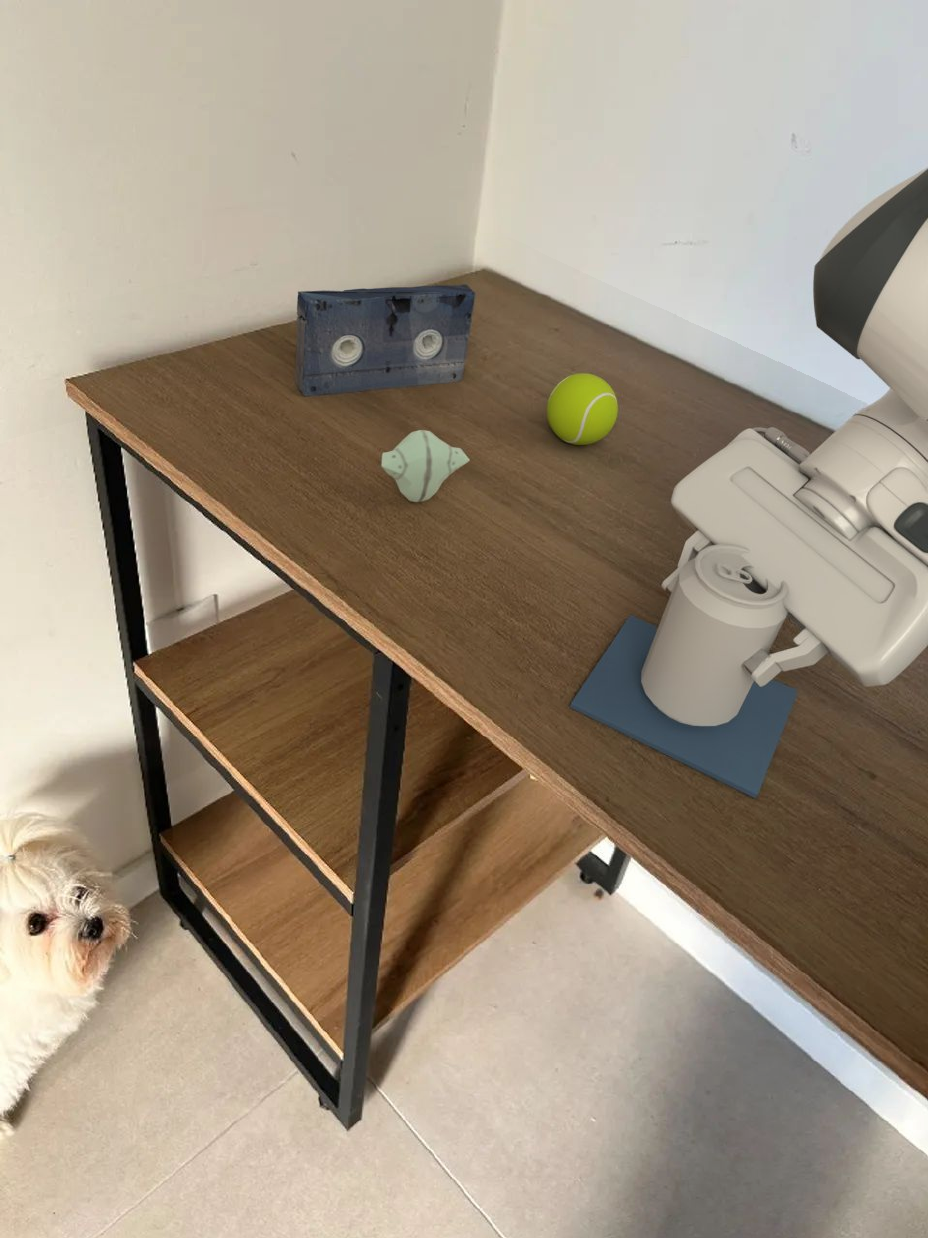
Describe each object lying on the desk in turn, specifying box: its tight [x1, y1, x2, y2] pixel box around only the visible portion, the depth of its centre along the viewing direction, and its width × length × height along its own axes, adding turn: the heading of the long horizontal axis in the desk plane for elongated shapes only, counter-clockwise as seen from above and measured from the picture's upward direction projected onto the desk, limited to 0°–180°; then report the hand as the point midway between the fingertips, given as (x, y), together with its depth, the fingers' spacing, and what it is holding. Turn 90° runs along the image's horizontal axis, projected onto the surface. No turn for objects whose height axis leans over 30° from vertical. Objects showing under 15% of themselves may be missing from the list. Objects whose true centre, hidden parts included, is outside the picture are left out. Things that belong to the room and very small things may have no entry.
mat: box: [569, 614, 799, 799], centre depth 69 cm, size 14×12×1 cm
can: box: [641, 544, 788, 726], centre depth 65 cm, size 8×8×12 cm
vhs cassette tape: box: [294, 284, 476, 397], centre depth 95 cm, size 18×3×10 cm, turn 115°
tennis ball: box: [546, 372, 619, 446], centre depth 93 cm, size 7×7×7 cm
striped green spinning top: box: [381, 429, 471, 503], centre depth 81 cm, size 8×4×7 cm, turn 110°
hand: (708, 635), depth 64 cm, fingers closed on can, 7 cm apart
